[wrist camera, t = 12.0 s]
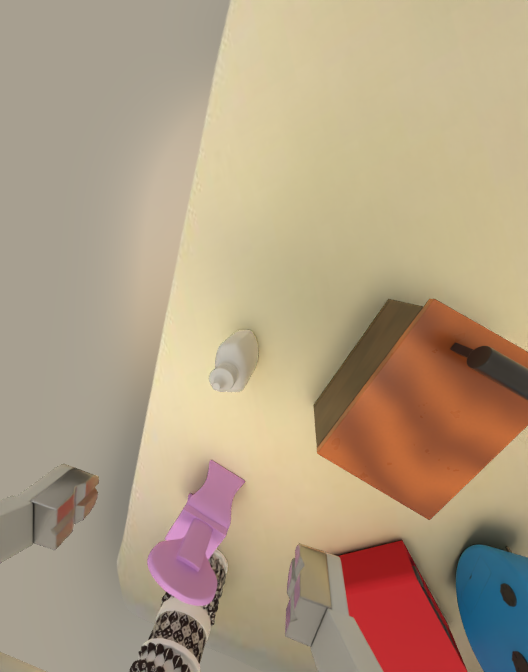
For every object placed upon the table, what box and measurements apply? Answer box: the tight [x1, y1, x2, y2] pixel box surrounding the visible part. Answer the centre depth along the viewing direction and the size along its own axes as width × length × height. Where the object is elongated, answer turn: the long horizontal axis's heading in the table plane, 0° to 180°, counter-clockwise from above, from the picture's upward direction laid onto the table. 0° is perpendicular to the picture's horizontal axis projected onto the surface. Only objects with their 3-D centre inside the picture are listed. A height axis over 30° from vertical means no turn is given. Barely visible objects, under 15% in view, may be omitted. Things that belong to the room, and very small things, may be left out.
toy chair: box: [148, 460, 245, 606], centre depth 32 cm, size 8×9×15 cm
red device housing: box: [338, 540, 467, 672], centre depth 36 cm, size 18×14×5 cm
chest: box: [314, 299, 423, 448], centre depth 27 cm, size 17×13×9 cm
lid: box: [317, 299, 528, 520], centre depth 20 cm, size 17×13×5 cm
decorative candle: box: [130, 549, 228, 672], centre depth 31 cm, size 9×9×25 cm
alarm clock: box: [456, 544, 528, 672], centre depth 27 cm, size 13×6×15 cm, turn 169°
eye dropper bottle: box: [209, 330, 259, 392], centre depth 27 cm, size 4×6×12 cm
